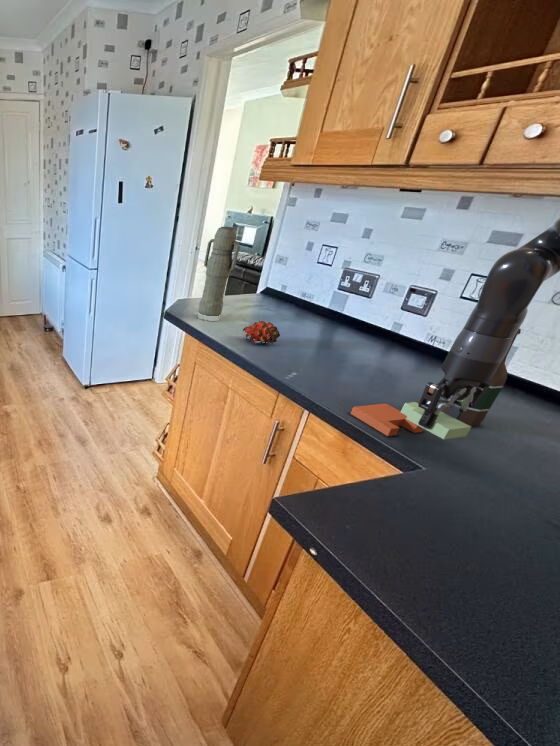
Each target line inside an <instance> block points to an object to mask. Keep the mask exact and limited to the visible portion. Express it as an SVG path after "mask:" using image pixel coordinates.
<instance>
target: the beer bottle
mask: <svg viewBox="0 0 560 746" xmlns="http://www.w3.org/2000/svg"><path fill="white" fill-rule="evenodd" d="M521 330H522V329H521V327H520V328H519V329H518V331H517V333H516V334H515V336H514V338H513V340H512V343H511V346H510V348H509V350H508V352H507V353H506V355H505V357H504V358H503V360H502V362H501V363H500V365H499V367H498V369H497V370H496V372H495V374H494V375H493V377H492V379H491V380H490V381H488V382H489V383H491V385H490V387H489V388H488V389H487V391H486V392H485V394H484V395H483V396H482V398H481V399H480V401H479V402H478V404H477V405H476V406H475V407H474V408H470V407H469V408H468V410H467V411H463V413H462V414H461V416H460V418H459V421H461V422H463V423H465V424H467V425H469V426H471V428H473V427H478V426H480V425H481V423H482V422H484V421H483V420H484V419H485V418H486V416H487V414H488V413H489V411H490V409H491V408H492V406H493V404H494V403H495V401H496V399H497V398H498V396H499V394H500V393H501V391H502V389H503V387H504V386H505V383H506V382H507V379H508V370H507V367H506V361H507V357H508V355H509V353H510V351H511V349H512V346H513V345H514V342H515V340H516V338H517V336H518V335H520V334H521ZM473 399H474V396H473ZM444 400H447V399H445V398H444ZM449 407H453V406H451V405H450V406H448V407H445V408H444V409H443V410H442V411H441V412H443V413H445V414H446V412H447V410H448V409H449Z"/></svg>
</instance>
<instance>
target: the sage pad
mask: <svg viewBox="0 0 560 746" xmlns="http://www.w3.org/2000/svg"><path fill="white" fill-rule="evenodd" d="M418 405H419V402H416V401H412V402H405V403H404V404H403V406H402V408H401V410H400V411H401V413H402V414H404V415H406V416H407V418H406V419H407V420H409V421H411V422H413V423H414V424H416V425H418V426H420V425H419V424H418V422H419V420H420V419H421V417H422V415H423V413H424V411H425V410H424V409H422V408H420V407H419V406H418ZM420 427H422V426H420ZM422 428H424V427H422ZM471 429H472V427H471V426H469V425H467V424H465V423H463V422H461V421H459V420H457V419H455V418H453V417H451V416H449V415H447V414H445V413H443V412H440V413H439V415H438V417H437V419H436V420H435V422H434V424H433V425H432V427H431V428H430V429H426V428H424V429H423V430H425V431H427V432H429V433H431V434H432V435H435V436H437V437H438V438H440V439H441V440H449V439H458V438H466V437H467V436H468V433H469V432H470V430H471Z"/></svg>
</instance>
